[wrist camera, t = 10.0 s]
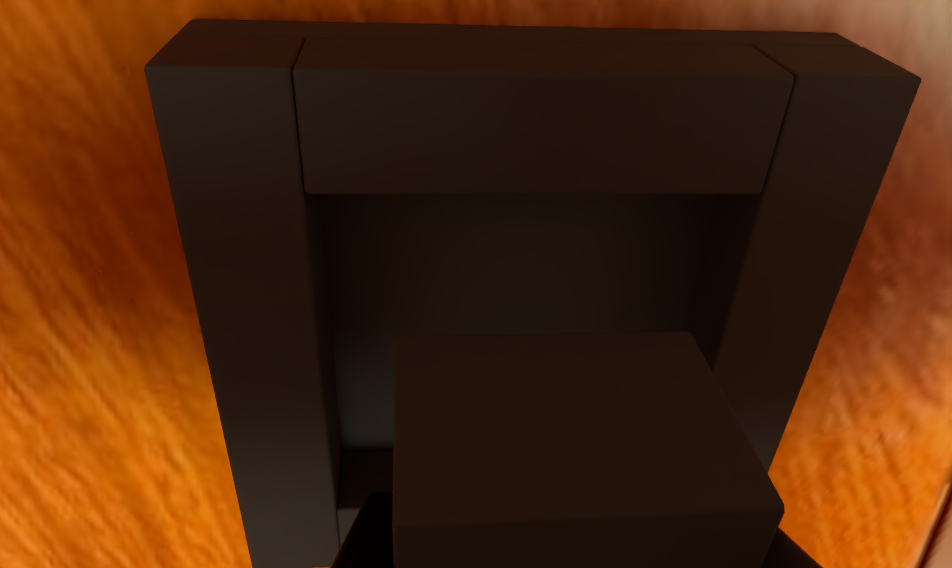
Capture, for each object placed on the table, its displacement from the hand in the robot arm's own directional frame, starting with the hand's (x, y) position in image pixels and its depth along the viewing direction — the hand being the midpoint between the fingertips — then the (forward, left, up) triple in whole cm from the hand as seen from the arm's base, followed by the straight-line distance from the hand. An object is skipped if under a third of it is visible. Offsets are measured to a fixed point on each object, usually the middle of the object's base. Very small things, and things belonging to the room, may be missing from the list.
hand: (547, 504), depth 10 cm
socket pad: (0, 0, -5) cm, 5 cm away
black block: (0, 0, -1) cm, 1 cm away
